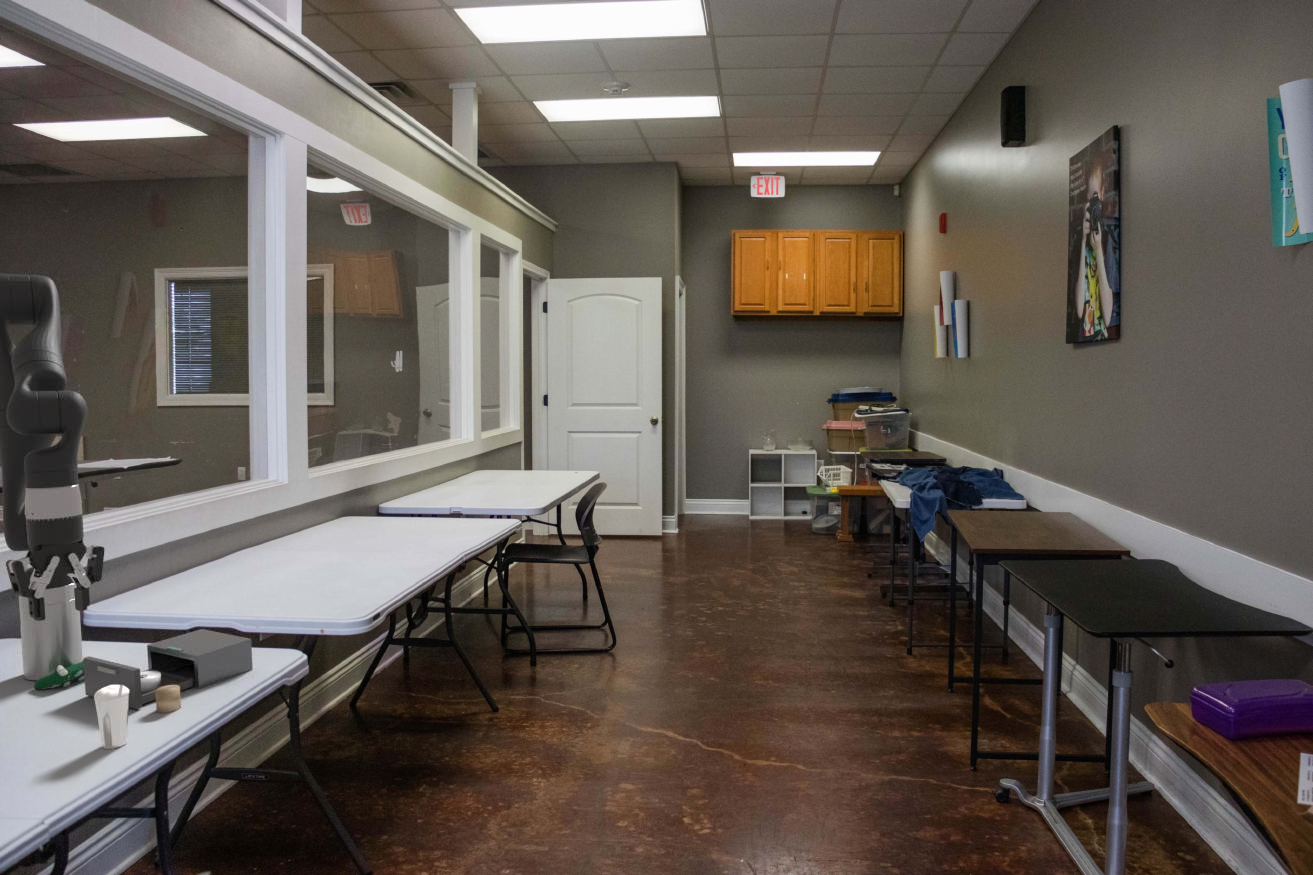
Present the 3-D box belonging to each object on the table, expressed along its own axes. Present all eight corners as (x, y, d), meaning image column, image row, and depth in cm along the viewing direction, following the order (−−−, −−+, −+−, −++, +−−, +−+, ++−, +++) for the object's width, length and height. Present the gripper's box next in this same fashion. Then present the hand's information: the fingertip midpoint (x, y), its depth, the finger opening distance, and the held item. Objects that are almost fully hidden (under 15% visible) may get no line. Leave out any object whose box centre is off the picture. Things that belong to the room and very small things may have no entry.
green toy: (42, 701, 152) (59, 681, 151) (30, 685, 153) (47, 664, 151) (89, 683, 161) (105, 663, 160) (77, 668, 162) (93, 648, 160)
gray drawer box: (203, 658, 169) (201, 627, 168) (252, 669, 162) (251, 637, 162) (148, 675, 159) (147, 643, 159) (199, 688, 152) (197, 654, 152)
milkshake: (109, 754, 126) (105, 689, 125) (91, 746, 129) (87, 683, 128) (140, 743, 130) (137, 680, 129) (123, 735, 132) (119, 673, 132)
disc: (114, 690, 149) (114, 679, 149) (148, 679, 155) (147, 668, 155) (135, 696, 147) (134, 684, 146) (168, 684, 152) (168, 673, 152)
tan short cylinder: (151, 710, 142) (150, 690, 142) (172, 703, 146) (171, 683, 145) (165, 714, 141) (163, 694, 140) (185, 706, 144) (184, 686, 144)
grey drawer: (147, 674, 159) (145, 640, 158) (197, 687, 152) (195, 651, 152) (83, 695, 149) (80, 658, 148) (133, 710, 142) (131, 671, 141)
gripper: (17, 522, 129) (24, 629, 130) (113, 508, 142) (119, 606, 143) (-9, 518, 132) (-2, 623, 134) (87, 505, 145) (93, 601, 146)
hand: (60, 614), depth 138 cm, fingers open, 5 cm apart
